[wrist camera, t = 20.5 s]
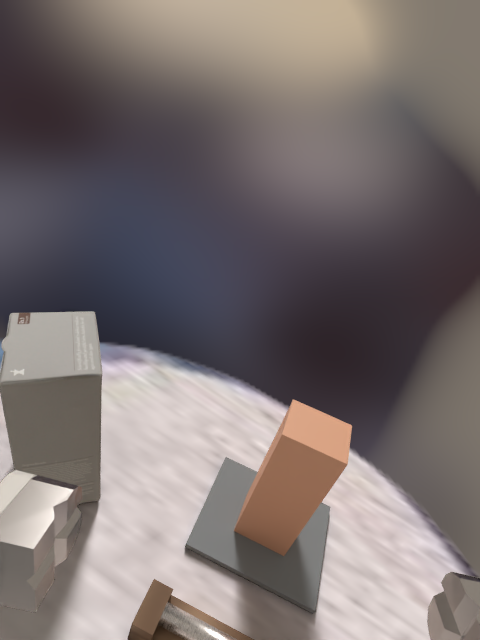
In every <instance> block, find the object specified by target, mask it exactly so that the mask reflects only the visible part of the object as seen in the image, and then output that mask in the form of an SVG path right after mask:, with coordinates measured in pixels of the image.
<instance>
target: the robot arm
mask: <svg viewBox="0 0 480 640" xmlns="http://www.w3.org/2000/svg"><path fill="white" fill-rule="evenodd" d="M81 500H82V487H80V486H77V485H73V484H69V483H66V482H62V481H58V480H54V479H50V478H47V477H43V476H39V475H34V474H30V473H26V472H22V471H18V470H15V471H13V472H11V473H9V474H8V475H7V476H6V477H5V478H4V479H3V480H2V481H1V482H0V605H1V606H5V607H10V608H15V609H19V610H24V611H29V612H34V613H36V611H37V609H38V608H39V606H40V604H41V602H42V601H43V599H44V597H45V596H46V594H47V592H48V590H49V589H50V587H51V585H52V583H53V582H54V580H55V566H57V565H59V564H60V563H62V562H63V561H65V560H66V559H67V557H68V555H69V554H70V552H71V550H72V548H73V546H74V544H75V541H76V539H77V536H78V533H79V530H80V525H81V518H82V513H81V512H80V510H79V509H78V507H77V506H78V505H79V503H80V501H81ZM441 583H442V586H443V589H444V592H442V593H440V594H437V595H435V596H434V597H433V599H432V601H431V603H430V605H429V607H428V620H427V622H428V629H429V635H430V639H431V640H480V578H478V577H473V576H468V575H464V574H459V573H455V572H450V573H448V574H446V575H445V577H444V579H443V580H442V582H441Z"/></svg>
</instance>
